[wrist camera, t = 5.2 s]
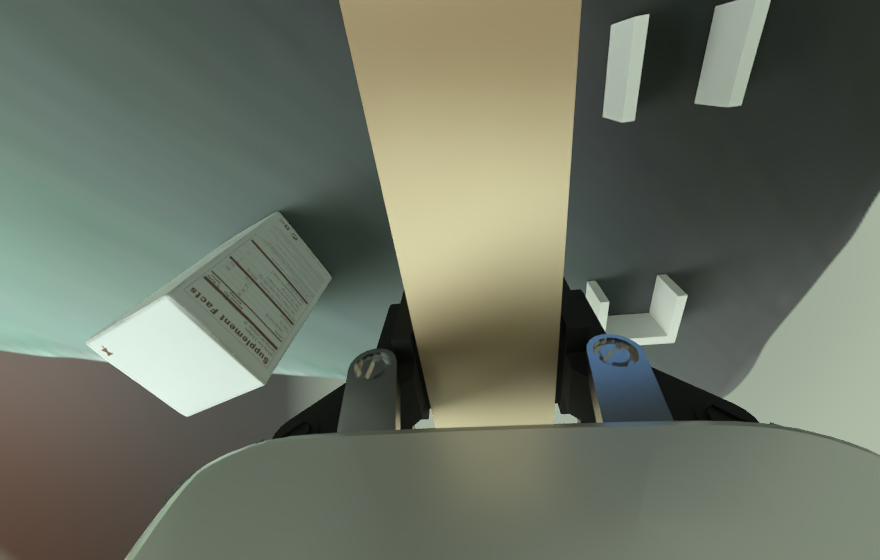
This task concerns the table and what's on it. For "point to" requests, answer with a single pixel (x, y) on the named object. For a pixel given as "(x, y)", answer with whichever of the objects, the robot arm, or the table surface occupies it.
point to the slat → (475, 188)
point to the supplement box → (219, 319)
